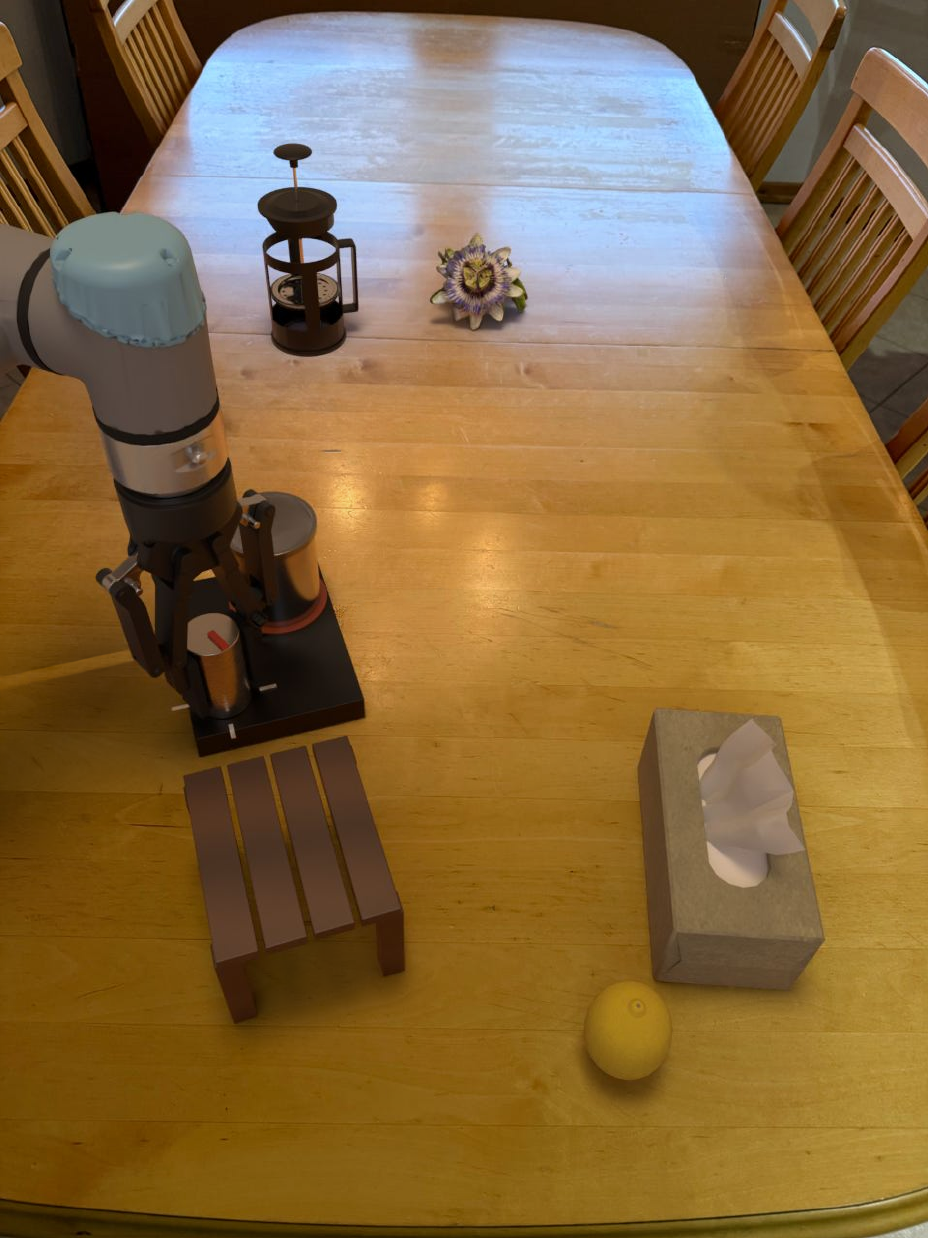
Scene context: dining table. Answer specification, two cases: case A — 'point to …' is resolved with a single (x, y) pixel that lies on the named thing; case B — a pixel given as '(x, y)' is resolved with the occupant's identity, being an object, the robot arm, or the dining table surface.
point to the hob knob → (220, 663)
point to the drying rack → (273, 867)
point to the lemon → (628, 1030)
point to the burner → (302, 623)
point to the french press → (305, 265)
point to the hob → (282, 681)
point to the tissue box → (725, 852)
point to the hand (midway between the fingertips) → (222, 689)
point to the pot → (290, 559)
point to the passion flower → (478, 282)
